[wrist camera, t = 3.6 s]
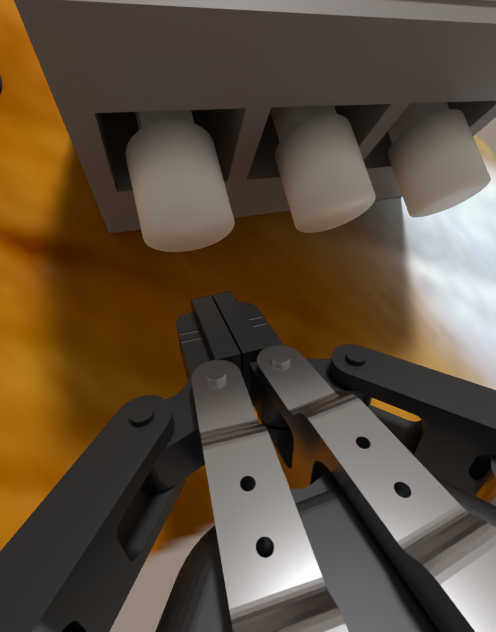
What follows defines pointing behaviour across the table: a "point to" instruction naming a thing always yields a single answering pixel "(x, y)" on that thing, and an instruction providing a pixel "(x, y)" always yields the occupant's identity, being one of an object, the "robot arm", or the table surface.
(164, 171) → the button left
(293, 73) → the button box
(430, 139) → the button right
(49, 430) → the table surface
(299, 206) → the button middle
